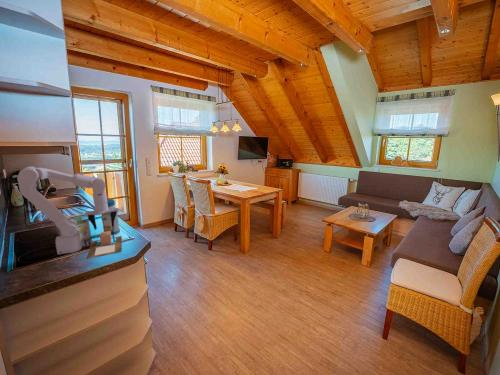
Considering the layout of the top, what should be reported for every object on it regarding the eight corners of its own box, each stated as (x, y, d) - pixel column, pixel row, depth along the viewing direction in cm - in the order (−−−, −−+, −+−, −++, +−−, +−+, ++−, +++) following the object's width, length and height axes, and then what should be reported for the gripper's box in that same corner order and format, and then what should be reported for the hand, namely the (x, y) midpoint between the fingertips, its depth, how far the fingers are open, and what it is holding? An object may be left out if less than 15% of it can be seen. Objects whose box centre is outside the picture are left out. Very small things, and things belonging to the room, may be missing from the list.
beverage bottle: (121, 234, 138) (117, 200, 134) (104, 237, 133) (99, 203, 129) (119, 229, 145) (114, 197, 141) (102, 233, 140) (98, 200, 136)
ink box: (79, 243, 126) (75, 219, 124) (73, 243, 127) (69, 219, 124) (91, 238, 133) (87, 215, 130) (85, 237, 134) (81, 214, 131)
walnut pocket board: (86, 261, 107) (86, 259, 107) (92, 243, 126) (91, 241, 126) (121, 254, 113) (121, 251, 113) (121, 238, 132) (121, 235, 132)
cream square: (94, 256, 109) (94, 255, 109) (96, 248, 117) (96, 247, 117) (114, 252, 113) (114, 251, 113) (114, 244, 121) (114, 244, 121)
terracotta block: (101, 247, 121) (99, 236, 120) (102, 243, 127) (100, 232, 125) (111, 245, 123) (110, 234, 122) (112, 241, 129) (110, 230, 127)
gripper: (82, 205, 114) (86, 232, 116) (116, 201, 120) (120, 227, 123) (84, 202, 120) (88, 228, 123) (117, 198, 126) (120, 223, 129)
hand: (104, 227), depth 123 cm, fingers open, 7 cm apart
